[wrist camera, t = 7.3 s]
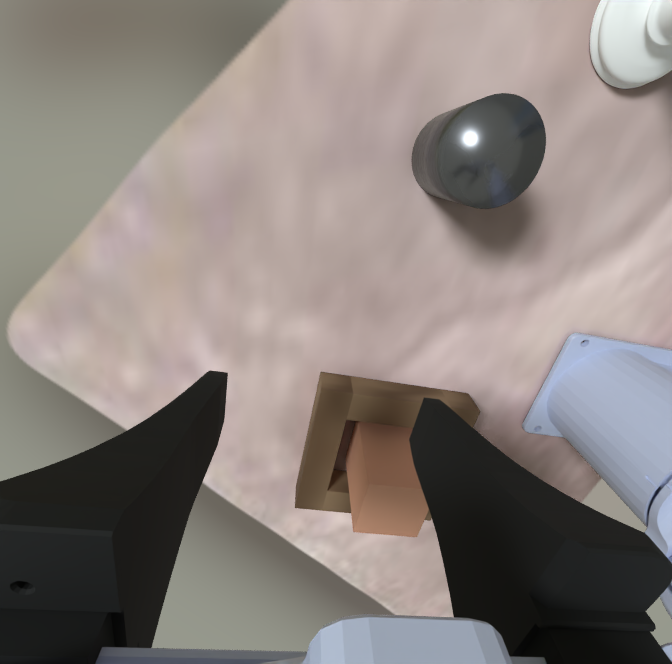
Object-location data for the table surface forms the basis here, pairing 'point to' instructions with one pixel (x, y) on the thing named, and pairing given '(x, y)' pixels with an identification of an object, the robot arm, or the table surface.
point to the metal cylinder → (481, 151)
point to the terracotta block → (384, 481)
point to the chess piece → (632, 41)
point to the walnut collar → (366, 406)
